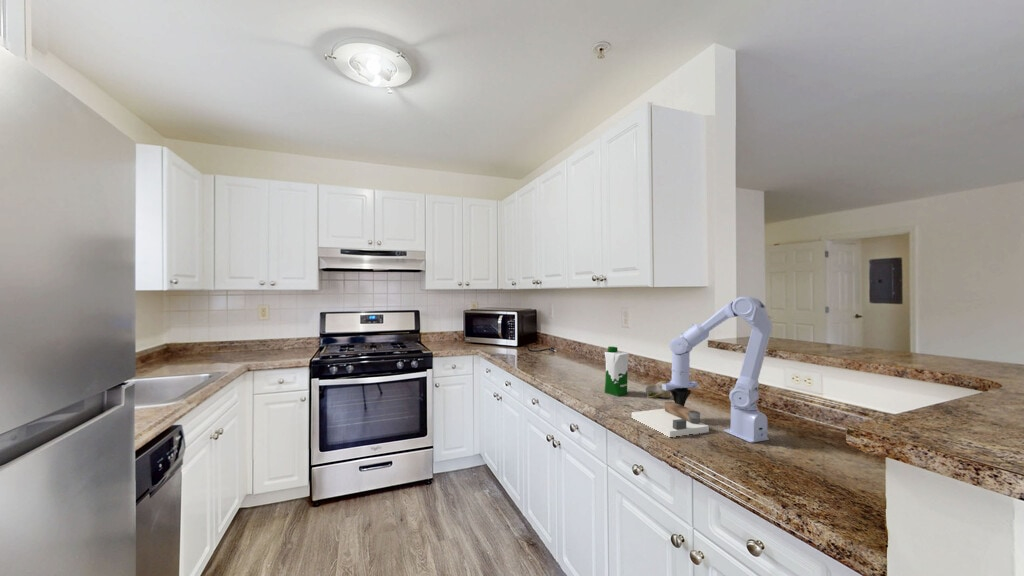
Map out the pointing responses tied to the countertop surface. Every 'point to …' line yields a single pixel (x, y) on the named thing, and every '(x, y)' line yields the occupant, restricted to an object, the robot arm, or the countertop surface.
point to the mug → (657, 390)
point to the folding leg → (682, 412)
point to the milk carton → (616, 372)
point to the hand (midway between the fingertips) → (679, 408)
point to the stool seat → (669, 423)
